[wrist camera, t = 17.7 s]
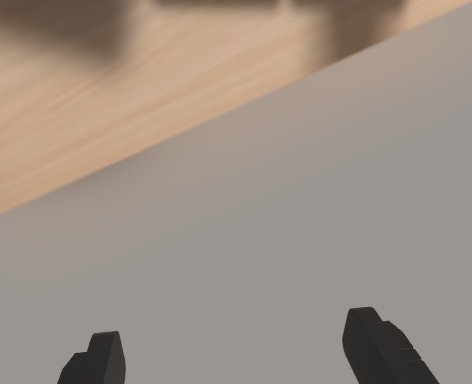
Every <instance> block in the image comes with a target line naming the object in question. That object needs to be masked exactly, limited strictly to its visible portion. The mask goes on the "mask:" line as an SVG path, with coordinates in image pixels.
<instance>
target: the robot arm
mask: <svg viewBox="0 0 472 384" xmlns="http://www.w3.org/2000/svg"><path fill="white" fill-rule="evenodd" d="M342 342H343V349H344V352H345V355H346V357H347V359H348V362H349V364H350V366H351V368H352V370H353V372H354V374H355V376H356V378H357V380H358V382H359V384H439V382H438V381H437V379H436V378H435V377H434V375H433V374H432V372H431V371H430V370H429V369H428V367H427V365H426V364H425V363H424V361H422V360H421V357H420V356H419V354H418V353H417V351H416V350H415V349H413V346H412V344H411V343H410V342H409V340H408V339H407V337H406V336H405V334H404V333H403V332H402V331H401V330H400V329H398V328H397V327H396V326H395V325H393V324H392V323H391V322H390V321H382V320H381V318H380V317H379V315H378V314H377V312H376V311H375V309H374V308H372V307H362V308H353V309H349V311H348V315H347V320H346V324H345V328H344V333H343V338H342ZM125 371H126V368H125V358H124V354H123V349H122V345H121V340H120V335H119V332H118V331H112V332H102V333H94V334H93V335H92V338H91V340H90V343H89V347H88V350H87V352H81V353H75V354H74V355H73V357H72V358H71V359H70V361H69V362H68V363H67V364H66V366H65V367H64V368H63V369H62V372H61V375H60V378H59V380H58V383H57V384H124V382H125Z"/></svg>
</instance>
